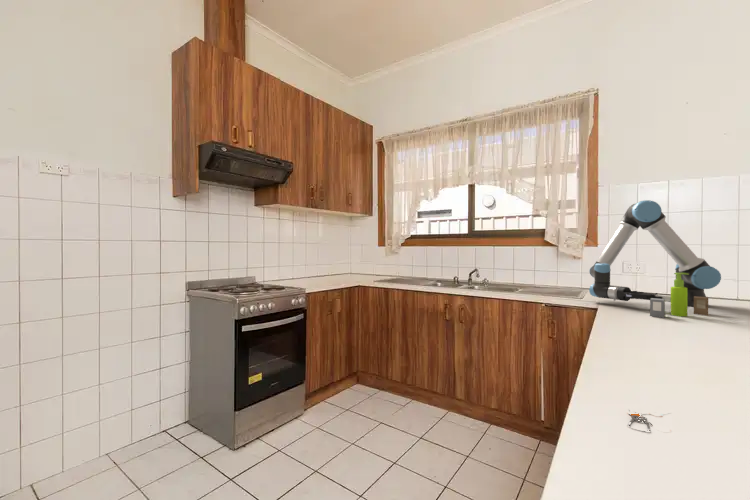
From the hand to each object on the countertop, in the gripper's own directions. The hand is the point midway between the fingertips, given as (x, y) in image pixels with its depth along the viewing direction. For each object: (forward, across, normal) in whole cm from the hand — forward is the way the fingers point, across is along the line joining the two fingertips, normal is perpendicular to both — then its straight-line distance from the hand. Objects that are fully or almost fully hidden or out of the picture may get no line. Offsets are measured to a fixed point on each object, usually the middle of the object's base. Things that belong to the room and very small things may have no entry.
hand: (671, 299), depth 166 cm
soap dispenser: (+4, 0, -7) cm, 8 cm away
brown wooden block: (+6, -13, -7) cm, 16 cm away
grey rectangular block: (+1, +12, -7) cm, 14 cm away
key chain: (+57, +122, -8) cm, 135 cm away
